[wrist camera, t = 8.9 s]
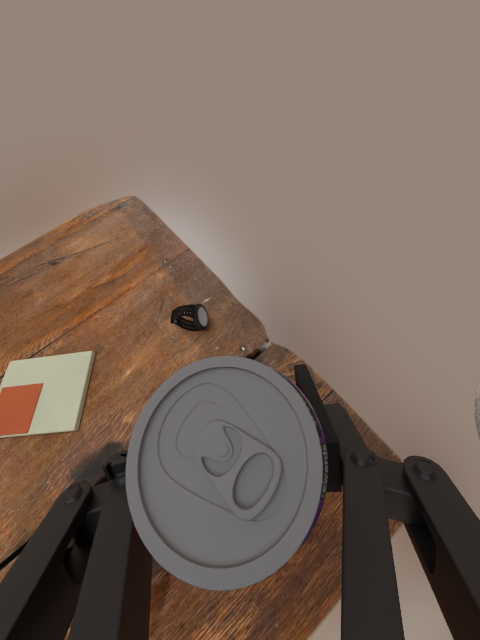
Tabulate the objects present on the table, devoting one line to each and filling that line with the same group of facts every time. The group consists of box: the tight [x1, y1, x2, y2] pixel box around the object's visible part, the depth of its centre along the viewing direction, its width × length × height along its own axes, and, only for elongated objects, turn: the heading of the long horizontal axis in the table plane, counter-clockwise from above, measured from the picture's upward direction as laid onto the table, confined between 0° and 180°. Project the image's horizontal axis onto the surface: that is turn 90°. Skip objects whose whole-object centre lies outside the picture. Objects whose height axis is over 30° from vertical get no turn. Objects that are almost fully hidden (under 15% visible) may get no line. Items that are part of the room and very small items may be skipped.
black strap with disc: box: [171, 304, 209, 331], centre depth 34 cm, size 4×5×5 cm
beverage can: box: [126, 356, 328, 591], centre depth 13 cm, size 7×7×12 cm
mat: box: [0, 351, 96, 438], centre depth 34 cm, size 14×11×1 cm
